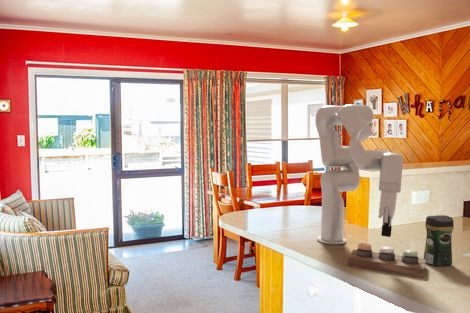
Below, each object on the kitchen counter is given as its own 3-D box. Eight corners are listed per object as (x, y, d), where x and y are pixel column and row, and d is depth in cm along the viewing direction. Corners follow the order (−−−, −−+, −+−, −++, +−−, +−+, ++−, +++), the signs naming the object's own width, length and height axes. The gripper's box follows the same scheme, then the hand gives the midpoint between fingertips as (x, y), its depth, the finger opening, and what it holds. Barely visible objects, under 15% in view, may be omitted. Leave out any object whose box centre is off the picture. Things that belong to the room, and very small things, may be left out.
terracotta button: (359, 245, 170) (359, 242, 169) (372, 247, 168) (372, 244, 167) (357, 249, 165) (357, 245, 165) (370, 250, 163) (370, 247, 163)
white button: (381, 248, 166) (381, 245, 166) (394, 250, 164) (394, 247, 164) (379, 252, 162) (379, 248, 162) (393, 254, 160) (393, 250, 160)
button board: (353, 256, 174) (353, 244, 174) (425, 267, 163) (425, 254, 163) (347, 265, 164) (348, 252, 163) (423, 277, 153) (424, 263, 152)
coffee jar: (441, 259, 173) (443, 213, 171) (455, 266, 165) (458, 217, 164) (419, 261, 171) (422, 213, 169) (432, 267, 163) (435, 218, 162)
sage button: (403, 251, 163) (403, 248, 163) (417, 253, 161) (418, 250, 161) (402, 255, 158) (402, 252, 158) (417, 257, 156) (417, 254, 156)
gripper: (381, 182, 170) (378, 229, 172) (376, 189, 156) (372, 239, 158) (402, 185, 166) (398, 232, 169) (398, 191, 153) (394, 243, 155)
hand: (386, 235), depth 163 cm, fingers closed
